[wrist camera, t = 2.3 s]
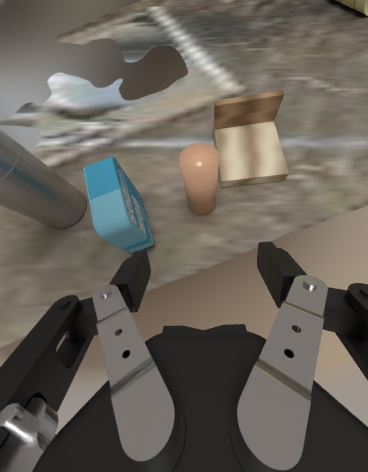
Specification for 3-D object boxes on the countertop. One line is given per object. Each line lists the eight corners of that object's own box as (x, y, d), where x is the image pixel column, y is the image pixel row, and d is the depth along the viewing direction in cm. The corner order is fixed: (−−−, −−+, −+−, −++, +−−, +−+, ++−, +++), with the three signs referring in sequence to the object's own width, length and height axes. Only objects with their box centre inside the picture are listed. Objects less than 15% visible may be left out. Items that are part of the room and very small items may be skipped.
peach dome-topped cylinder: (189, 216, 33) (180, 177, 22) (187, 193, 35) (178, 145, 24) (216, 213, 33) (221, 172, 21) (213, 190, 34) (216, 140, 23)
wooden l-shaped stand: (220, 187, 34) (223, 162, 28) (213, 133, 39) (214, 101, 32) (284, 180, 33) (303, 152, 26) (269, 125, 37) (282, 89, 31)
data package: (156, 247, 32) (128, 222, 21) (133, 255, 32) (94, 235, 21) (140, 195, 36) (110, 151, 25) (120, 202, 36) (81, 162, 25)
